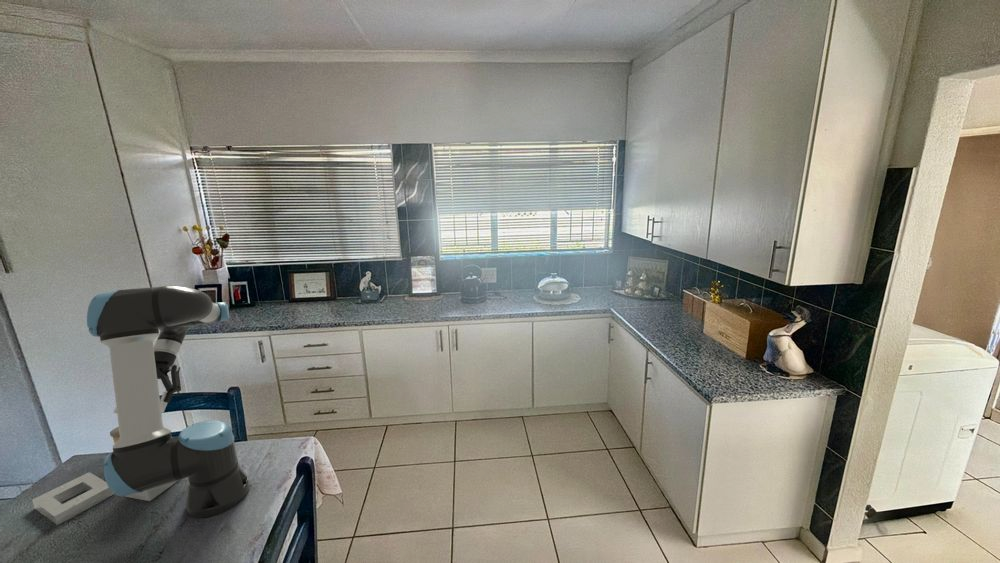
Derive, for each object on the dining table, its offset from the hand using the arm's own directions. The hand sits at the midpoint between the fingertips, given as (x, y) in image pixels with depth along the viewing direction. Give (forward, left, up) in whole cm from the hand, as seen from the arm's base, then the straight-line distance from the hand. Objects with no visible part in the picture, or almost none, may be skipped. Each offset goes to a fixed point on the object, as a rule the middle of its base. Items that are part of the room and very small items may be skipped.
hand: (138, 412), depth 131 cm
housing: (-9, +21, -14) cm, 27 cm away
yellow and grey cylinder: (-4, +6, -15) cm, 16 cm away
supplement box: (-24, +9, -15) cm, 29 cm away
